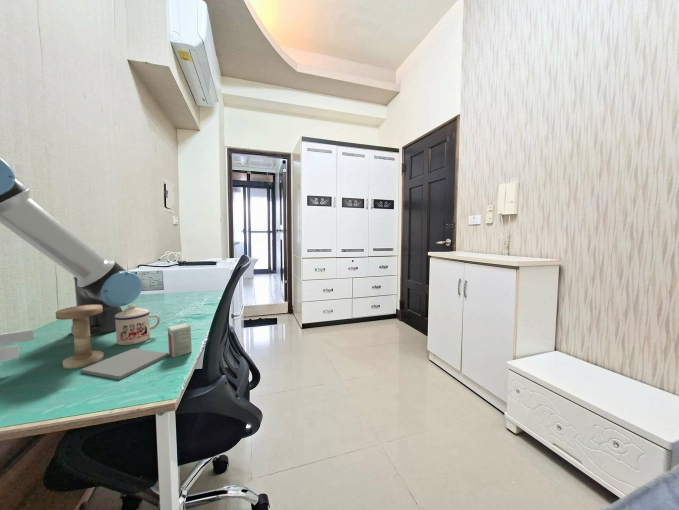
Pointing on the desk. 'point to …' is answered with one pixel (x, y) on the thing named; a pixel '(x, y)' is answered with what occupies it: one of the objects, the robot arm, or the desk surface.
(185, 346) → the small box
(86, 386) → the desk surface
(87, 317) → the stool
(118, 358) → the mat
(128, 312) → the teacup with lid
